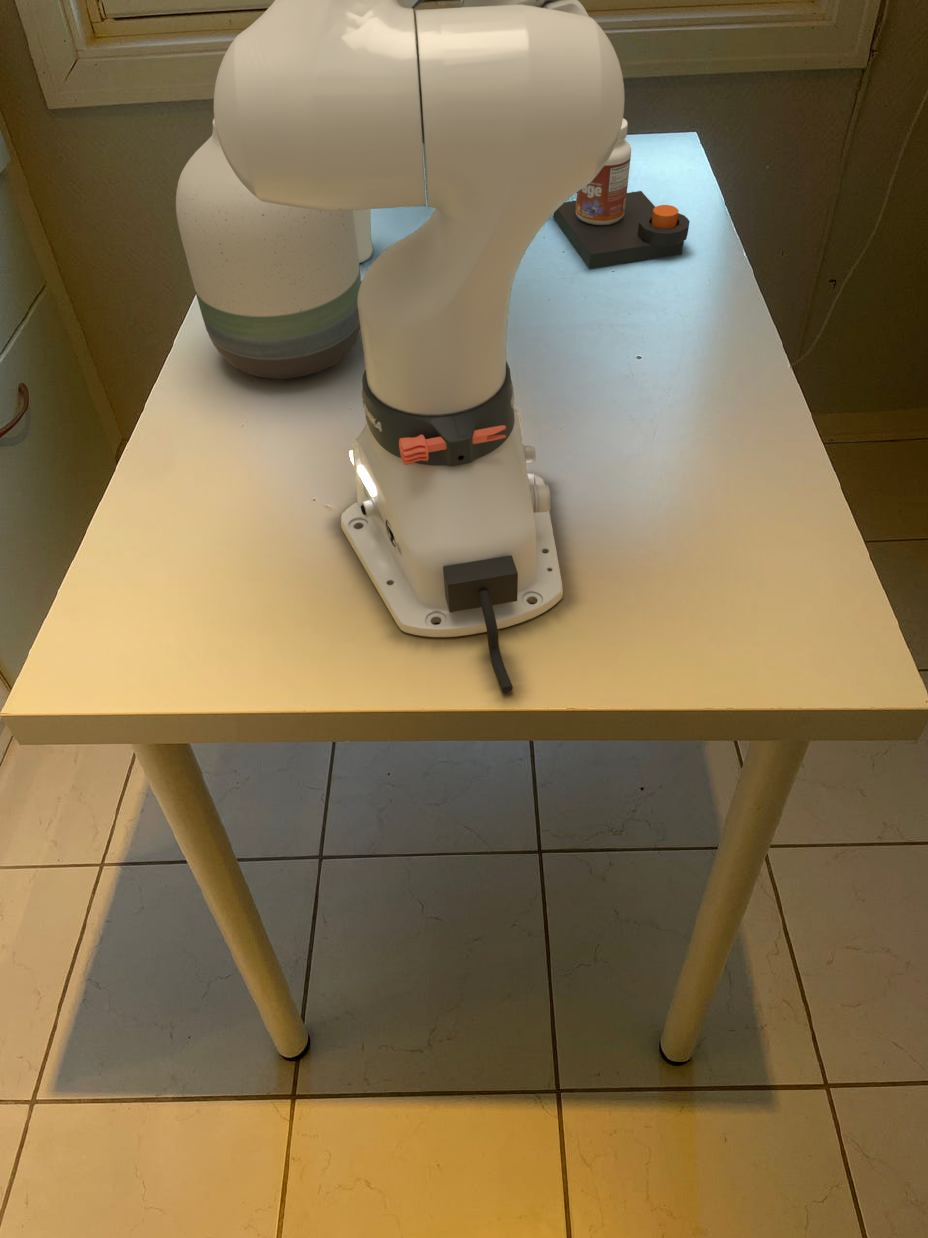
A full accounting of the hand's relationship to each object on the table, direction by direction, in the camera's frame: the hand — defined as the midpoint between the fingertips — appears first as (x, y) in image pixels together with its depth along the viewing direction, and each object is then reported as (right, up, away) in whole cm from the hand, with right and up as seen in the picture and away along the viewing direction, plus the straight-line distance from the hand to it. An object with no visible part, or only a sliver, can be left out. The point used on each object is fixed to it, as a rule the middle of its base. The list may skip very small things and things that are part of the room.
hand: (559, 119), depth 114 cm
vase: (-31, -32, -12) cm, 46 cm away
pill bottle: (+5, -11, +3) cm, 12 cm away
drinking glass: (-26, -16, +2) cm, 31 cm away
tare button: (+12, -14, -2) cm, 19 cm away
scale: (+7, -13, +3) cm, 15 cm away
